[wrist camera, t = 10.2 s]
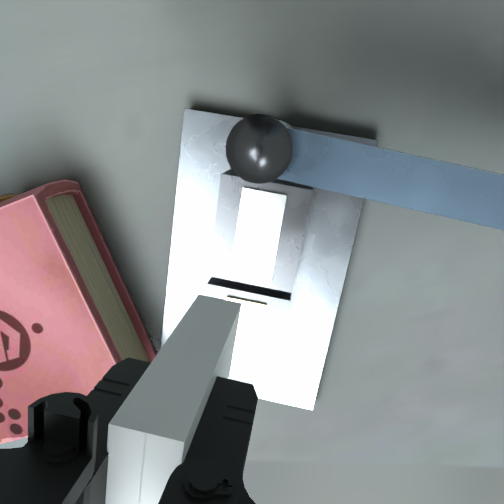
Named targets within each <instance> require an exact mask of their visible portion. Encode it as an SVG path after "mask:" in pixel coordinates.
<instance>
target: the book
mask: <svg viewBox="0 0 504 504" xmlns="http://www.w3.org/2000/svg"><path fill="white" fill-rule="evenodd" d="M156 355H157V353H156V351H155V349H154V346H153V344H152V342H151V340H150V338H149V335H148V333H147V331H146V329H145V327H144V325H143V322H142V320H141V318H140V316H139V314H138V311H137V309H136V307H135V305H134V303H133V301H132V298H131V296H130V294H129V292H128V290H127V287H126V285H125V283H124V281H123V279H122V277H121V274H120V272H119V270H118V268H117V266H116V263H115V261H114V259H113V257H112V255H111V253H110V250H109V248H108V246H107V244H106V242H105V239H104V237H103V235H102V233H101V231H100V229H99V226H98V224H97V222H96V220H95V218H94V215H93V213H92V211H91V209H90V207H89V204H88V202H87V200H86V198H85V196H84V194H83V191H82V189H81V187H80V185H79V183H78V182H76V181H71V180H65V179H64V180H59V181H55V182H50V183H47V184H44V185H42V186H39V187H37V188H34V189H32V190H29V191H27V192H24V193H22V194H19V195H14V194H6V195H2V196H0V444H2V443H6V442H10V441H14V440H19V439H23V438H27V437H28V406H29V405H31V404H32V403H33V402H35V401H36V400H38V399H40V398H42V397H45V396H48V395H50V394H54V393H61V392H73V393H81V394H83V395H86V396H87V395H88V394H89V393H90V392H91V390H93V389H94V387H95V386H96V385H97V383H98V382H99V381H100V380H102V377H103V376H104V375H105V374H106V373H107V372H108V370H109V369H110V368H111V367H112V366H113V365H115V364H117V363H119V362H121V361H122V360H124V359H126V358H133V359H137V360H142V361H146V362H152V361H153V359H154V358H155V357H156Z"/></svg>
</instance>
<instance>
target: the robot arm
mask: <svg viewBox="0 0 504 504" xmlns="http://www.w3.org/2000/svg"><path fill="white" fill-rule="evenodd" d="M241 304H242V303H238V302H233V301H228V300H224V299H219V298H214V297H209V296H204V295H200V294H199V295H198V296H197V298H196V299H195V301H194V302H193V303H192V305H191V306H190V308H189V309H188V311H187V312H186V313H185V315H184V316H183V318H182V319H181V321H180V322H179V324H178V325H177V326H176V328H175V329H174V331H173V332H172V334H171V335H170V336H169V338H168V339H167V341H166V342H165V344H164V345H163V346H162V348H161V349H160V351H159V352H158V354H157V355H156V357H155V358H154V359H153V361H152V362H146V361H142V360H137V359H133V358H126V359H124V360H122V361H121V362H119V363H117V364H115V365H113V366H112V367H111V368H110V369H109V370H108V372H107V373H106V374H105V375H104V376H103V377H102V380H100V381H99V382H98V383H97V385H96V386H95V387H94V389H93V390H91V392H90V393H89V394H88V395H87V396H86V395H83V394H81V393H73V392H61V393H54V394H50V395H48V396H45V397H42V398H40V399H38V400H36V401H35V402H33V403H32V404H31V405H29V406H28V442H27V443H26V444H25V446H24V447H21V448H12V449H0V504H255V503H254V501H253V500H252V499H251V498H250V497H249V495H248V493H247V491H246V489H245V488H244V484H243V470H244V466H245V461H246V456H247V451H248V446H249V441H250V436H251V431H252V426H253V420H254V415H255V410H256V405H257V400H258V397H257V394H256V391H255V389H254V386H253V384H250V383H245V382H241V381H237V380H232V379H228V377H229V374H230V370H231V364H232V358H233V352H234V346H235V340H236V334H237V328H238V322H239V316H240V310H241Z"/></svg>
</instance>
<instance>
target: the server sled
mask: <svg viewBox="0 0 504 504" xmlns="http://www.w3.org/2000/svg"><path fill="white" fill-rule="evenodd" d="M242 119H243V118H241V117H235V116H228V115H222V114H216V113H210V112H204V111H198V110H192V109H184V119H183V129H182V139H181V149H180V159H179V169H178V179H177V189H176V199H175V209H174V219H173V229H172V240H171V250H170V260H169V270H168V280H167V290H166V300H165V310H164V320H163V330H162V340H161V348H162V346H163V345H164V344H165V342H166V341H167V339H168V338H169V336H170V335H171V334H172V332H173V331H174V329H175V328H176V326H177V325H178V324H179V322H180V321H181V319H182V318H183V316H184V315H185V313H186V312H187V311H188V309H189V308H190V306H191V305H192V303H193V302H194V301H195V299H196V298H197V296H198V295H199V294H200V295H204V296H209V297H214V298H219V299H224V300H228V301H233V302H238V303H242V304H241V310H240V316H239V322H238V328H237V334H236V340H235V346H234V352H233V358H232V364H231V370H230V374H229V377H228V379H232V380H237V381H241V382H245V383H250V384H253V386H254V389H255V391H256V394H257V397H258V398H259V399H264V400H268V401H273V402H277V403H282V404H286V405H290V406H295V407H299V408H304V409H308V410H312V411H313V407H314V403H315V399H316V395H317V391H318V387H319V382H320V378H321V374H322V370H323V366H324V362H325V358H326V354H327V350H328V345H329V341H330V337H331V333H332V329H333V325H334V321H335V317H336V313H337V308H338V304H339V300H340V296H341V292H342V288H343V284H344V280H345V276H346V271H347V267H348V263H349V259H350V255H351V251H352V247H353V243H354V239H355V234H356V230H357V226H358V222H359V218H360V214H361V210H362V206H363V202H364V198H360V197H356V196H351V195H347V194H342V193H338V192H334V191H329V190H325V189H320V188H316V187H312V186H307V185H303V184H298V183H294V182H290V181H285V180H281V179H275V180H273V181H270V182H267V183H262V184H256V183H251V182H247V181H245V180H243V179H242V178H240V177H239V176H238V175H236V174H235V172H234V171H233V170H232V169H231V167H230V165H229V163H228V161H227V157H226V141H227V137H228V135H229V133H230V131H231V129H232V128H233V127H234V125H235V124H236V123H237V122H239V121H240V120H242ZM279 121H280V122H281V123H283V125H284V126H285V127H288V128H292V129H297V130H301V131H306V132H311V133H315V134H320V135H324V136H329V137H334V138H338V139H343V140H347V141H352V142H356V143H361V144H366V145H370V146H375V147H377V144H378V140H374V139H368V138H362V137H356V136H350V135H344V134H338V133H331V132H325V131H319V130H313V129H307V128H301V127H295V126H291V125H289V124H288V123H286V122H284V121H281V120H279Z"/></svg>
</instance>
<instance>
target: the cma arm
mask: <svg viewBox="0 0 504 504" xmlns="http://www.w3.org/2000/svg"><path fill="white" fill-rule="evenodd" d="M226 157H227V161H228V163H229V165H230V167H231V169H232V170H233V171H234V172H235V174H236V175H238V176H239V177H240V178H242V179H243V180H245V181H247V182H251V183H256V184H262V183H267V182H270V181H273V180H275V179H281V180H285V181H290V182H294V183H298V184H303V185H307V186H312V187H316V188H320V189H325V190H329V191H334V192H338V193H342V194H347V195H351V196H356V197H360V198H364V199H369V200H373V201H377V202H382V203H386V204H391V205H395V206H399V207H404V208H408V209H413V210H417V211H421V212H426V213H430V214H435V215H439V216H443V217H448V218H452V219H457V220H461V221H465V222H470V223H474V224H479V225H483V226H487V227H492V228H496V229H500V230H504V175H503V174H499V173H494V172H490V171H485V170H480V169H476V168H471V167H467V166H462V165H458V164H453V163H448V162H444V161H439V160H435V159H430V158H425V157H421V156H416V155H412V154H407V153H402V152H398V151H393V150H389V149H384V148H379V147H375V146H370V145H366V144H361V143H356V142H352V141H347V140H343V139H338V138H334V137H329V136H324V135H320V134H315V133H311V132H306V131H301V130H297V129H292V128H288V127H285V126H284V125H283V123H281V122H280V121H279V120H277V119H276V118H273V117H271V116H267V115H262V114H256V115H251V116H247V117H245V118H243V119H242V120H240V121H239V122H237V123H236V124H235V125H234V127H233V128H232V129H231V131H230V133H229V135H228V137H227V141H226Z"/></svg>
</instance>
